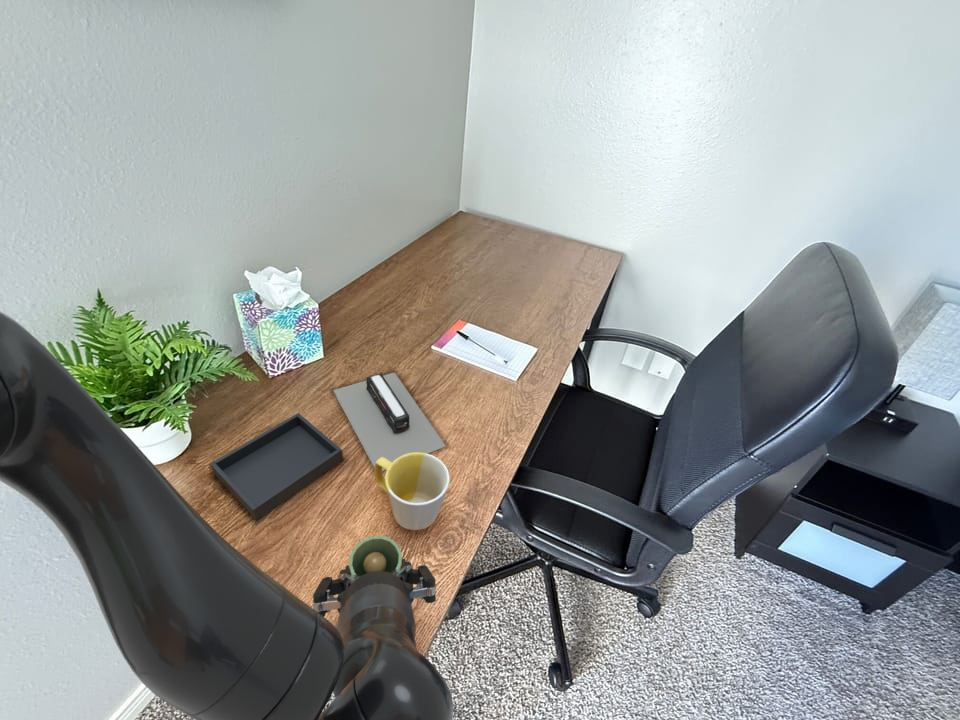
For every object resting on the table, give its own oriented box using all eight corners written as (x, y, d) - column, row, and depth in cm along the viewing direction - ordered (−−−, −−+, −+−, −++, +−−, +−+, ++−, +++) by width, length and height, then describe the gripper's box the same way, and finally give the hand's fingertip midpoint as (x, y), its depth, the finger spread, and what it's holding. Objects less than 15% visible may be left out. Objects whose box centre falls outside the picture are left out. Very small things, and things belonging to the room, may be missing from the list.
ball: (372, 565, 58) (368, 545, 61) (360, 580, 59) (357, 560, 62) (392, 567, 60) (388, 547, 63) (380, 582, 61) (376, 562, 63)
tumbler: (374, 632, 60) (373, 596, 54) (343, 598, 63) (338, 560, 57) (410, 595, 65) (412, 558, 59) (379, 565, 67) (378, 526, 61)
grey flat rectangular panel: (394, 372, 108) (394, 358, 106) (446, 446, 93) (447, 431, 90) (333, 390, 101) (331, 375, 99) (377, 473, 86) (376, 458, 83)
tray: (256, 521, 76) (252, 510, 74) (213, 474, 82) (209, 463, 80) (343, 460, 87) (342, 449, 85) (300, 423, 93) (298, 412, 91)
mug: (457, 516, 81) (463, 479, 74) (412, 554, 74) (413, 517, 68) (407, 468, 87) (408, 430, 81) (361, 499, 81) (358, 460, 75)
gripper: (445, 575, 48) (428, 534, 65) (299, 594, 45) (319, 546, 61) (448, 651, 48) (430, 591, 64) (300, 676, 44) (320, 606, 61)
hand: (375, 569), depth 62 cm, fingers closed on tumbler, 6 cm apart
